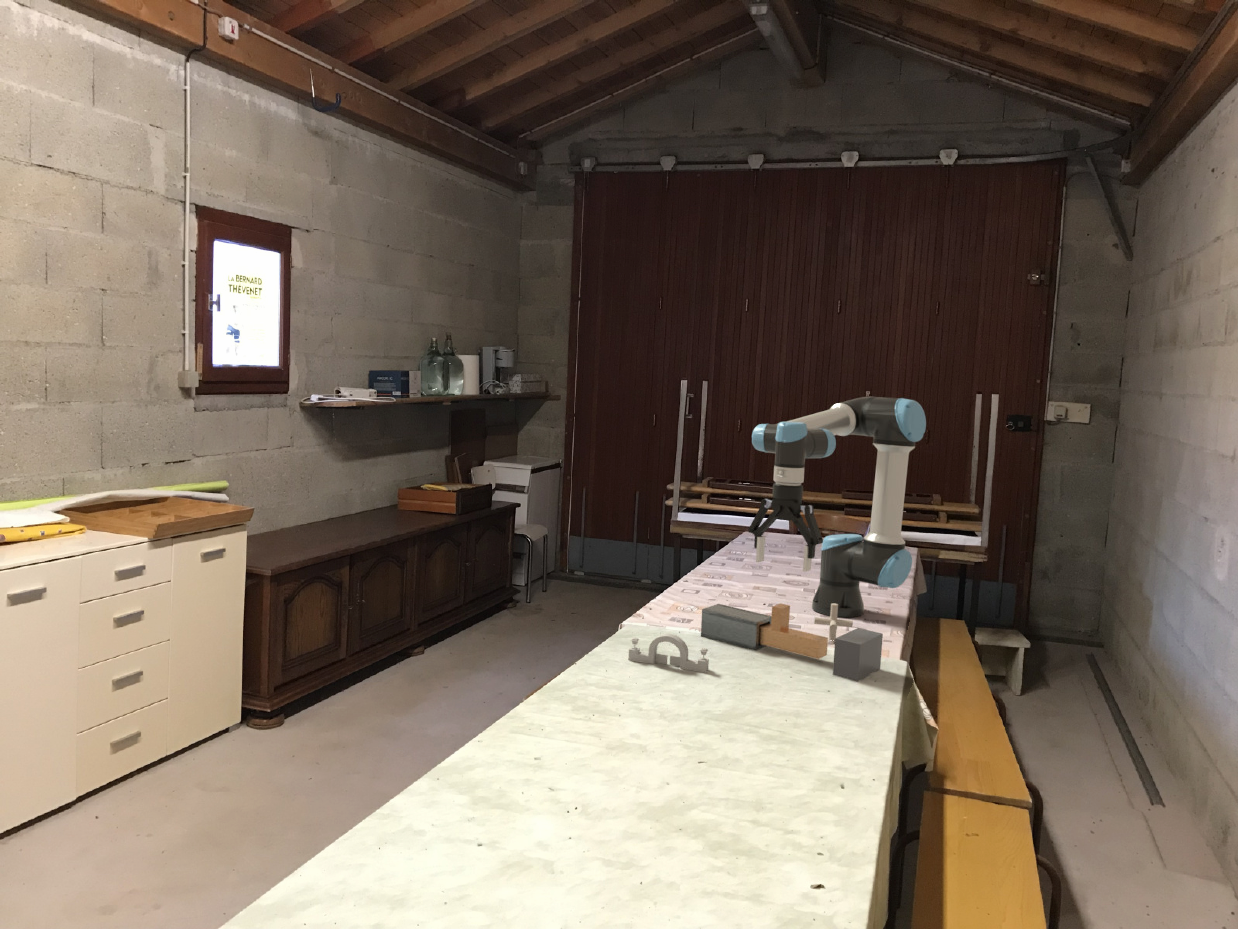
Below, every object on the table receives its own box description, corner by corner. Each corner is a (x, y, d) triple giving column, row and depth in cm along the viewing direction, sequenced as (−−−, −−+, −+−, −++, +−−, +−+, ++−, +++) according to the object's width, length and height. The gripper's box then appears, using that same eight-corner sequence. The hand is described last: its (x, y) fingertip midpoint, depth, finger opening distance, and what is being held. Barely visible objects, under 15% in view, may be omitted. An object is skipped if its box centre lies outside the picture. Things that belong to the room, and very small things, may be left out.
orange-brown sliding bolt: (726, 629, 258) (728, 591, 257) (826, 655, 239) (829, 614, 238) (717, 632, 254) (719, 594, 253) (818, 659, 236) (821, 617, 234)
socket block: (855, 663, 238) (858, 628, 237) (880, 669, 234) (882, 633, 233) (832, 674, 229) (835, 638, 228) (857, 681, 225) (860, 644, 224)
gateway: (708, 671, 230) (709, 639, 229) (705, 674, 227) (707, 642, 226) (631, 659, 237) (632, 628, 236) (628, 662, 234) (629, 630, 233)
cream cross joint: (851, 648, 251) (854, 611, 249) (813, 644, 253) (815, 607, 251) (850, 637, 260) (853, 601, 259) (813, 633, 262) (815, 598, 261)
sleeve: (717, 630, 262) (718, 603, 261) (771, 644, 251) (772, 616, 250) (700, 636, 256) (702, 609, 255) (755, 650, 245) (756, 622, 244)
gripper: (738, 478, 245) (733, 559, 247) (826, 490, 229) (820, 577, 232) (753, 476, 251) (748, 555, 253) (840, 488, 235) (834, 572, 238)
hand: (782, 566), depth 242 cm, fingers open, 13 cm apart
